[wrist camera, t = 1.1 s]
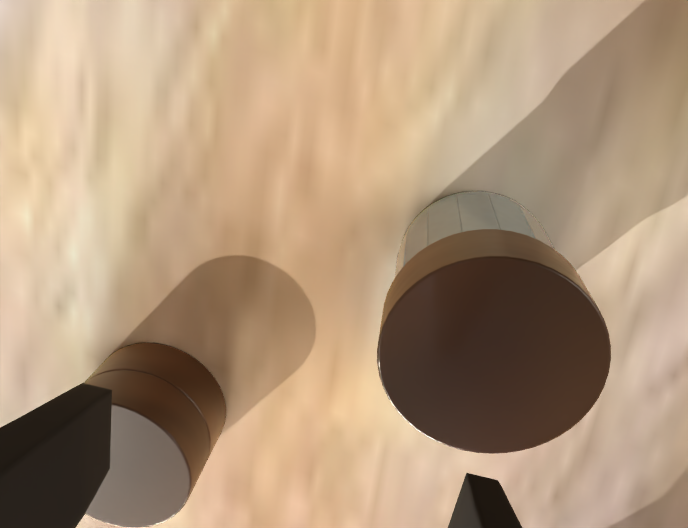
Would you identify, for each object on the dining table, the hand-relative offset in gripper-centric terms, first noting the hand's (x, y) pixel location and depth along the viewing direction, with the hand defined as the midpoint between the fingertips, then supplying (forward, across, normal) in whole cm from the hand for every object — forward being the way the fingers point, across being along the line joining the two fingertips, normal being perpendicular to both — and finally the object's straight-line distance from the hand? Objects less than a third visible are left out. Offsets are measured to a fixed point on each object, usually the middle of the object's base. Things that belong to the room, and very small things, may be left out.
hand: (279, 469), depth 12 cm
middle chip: (+8, +6, +8) cm, 13 cm away
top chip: (+6, -4, -1) cm, 7 cm away
